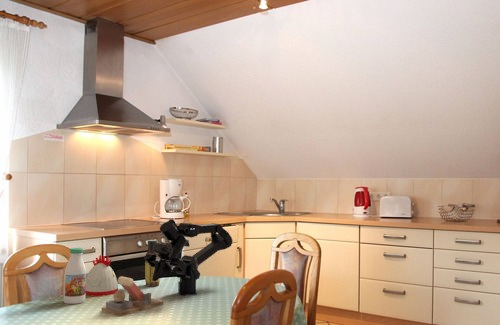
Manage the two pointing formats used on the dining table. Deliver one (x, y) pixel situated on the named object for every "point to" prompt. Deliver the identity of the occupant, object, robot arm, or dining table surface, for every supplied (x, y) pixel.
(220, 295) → the dining table surface
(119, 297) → the walnut
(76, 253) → the milk bottle
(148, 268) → the sauce bottle
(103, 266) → the white and red dome
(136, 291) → the lever
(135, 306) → the base
